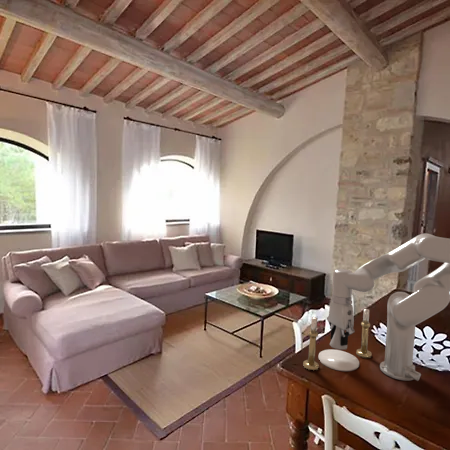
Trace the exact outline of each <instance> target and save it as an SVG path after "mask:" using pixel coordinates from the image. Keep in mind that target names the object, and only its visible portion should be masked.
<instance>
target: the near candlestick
mask: <svg viewBox="0 0 450 450" xmlns="http://www.w3.org/2000/svg"><path fill="white" fill-rule="evenodd" d="M317 330H318V317H316V316H312V317H311V323H310V330H309V331H308V336H309V345H308V356H307V357H308V358H307V359H306V360H304V361H303V362H302V365H303V366H304V367H303V366H302V367H303V368H304V369H305V368H306V370H307V369H308V370H307V371H310V370H313V371H312V372H315V371H314V370H316V371H318V370H319V369H318V368H320V367H319V363H318V362H316V361H315V357H316V346H317V345H316V344H317V337H319V332H318V331H317Z"/></svg>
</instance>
